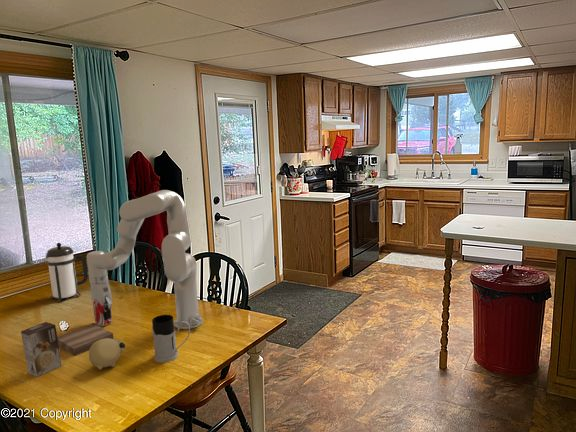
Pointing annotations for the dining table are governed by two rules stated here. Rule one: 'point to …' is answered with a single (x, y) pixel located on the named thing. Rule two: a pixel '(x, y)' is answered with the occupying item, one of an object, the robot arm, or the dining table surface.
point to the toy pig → (106, 352)
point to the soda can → (100, 314)
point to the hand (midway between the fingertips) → (103, 316)
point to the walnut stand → (82, 339)
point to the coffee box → (41, 348)
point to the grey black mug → (165, 338)
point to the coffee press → (64, 272)
